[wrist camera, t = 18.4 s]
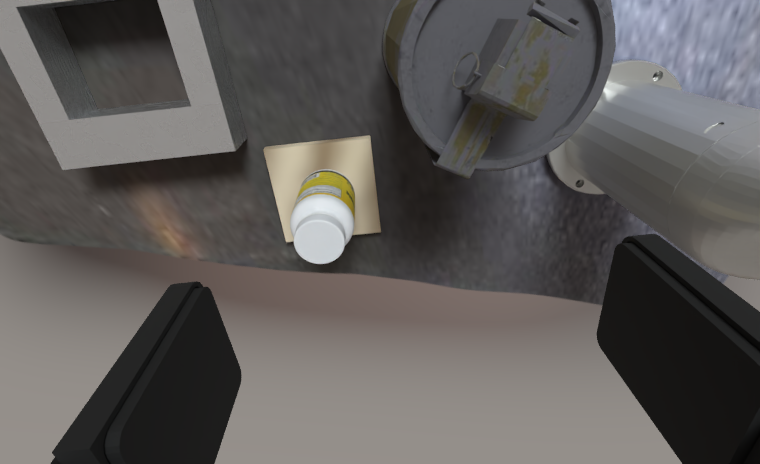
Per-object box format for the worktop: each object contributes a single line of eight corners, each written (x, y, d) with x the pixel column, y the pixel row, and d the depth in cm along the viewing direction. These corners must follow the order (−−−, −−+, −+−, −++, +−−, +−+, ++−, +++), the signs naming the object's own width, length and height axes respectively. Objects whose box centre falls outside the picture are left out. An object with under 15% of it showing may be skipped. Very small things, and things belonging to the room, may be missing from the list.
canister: (414, -54, 31) (482, -140, 13) (527, 7, 33) (709, 2, 16) (361, 82, 36) (361, 150, 18) (463, 127, 38) (550, 227, 20)
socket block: (192, -73, 30) (169, -84, 26) (247, 138, 38) (235, 151, 34) (-5, -50, 30) (-54, -58, 27) (90, 155, 38) (62, 169, 34)
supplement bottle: (351, 221, 41) (348, 276, 33) (298, 213, 41) (281, 268, 32) (359, 171, 39) (358, 217, 30) (302, 163, 38) (284, 207, 29)
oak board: (370, 135, 38) (370, 138, 37) (380, 227, 43) (380, 232, 42) (265, 146, 38) (263, 149, 37) (287, 237, 43) (286, 242, 42)
